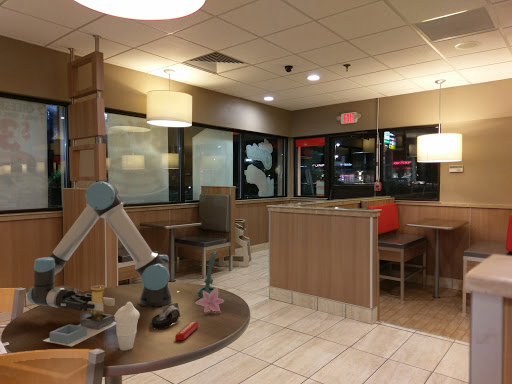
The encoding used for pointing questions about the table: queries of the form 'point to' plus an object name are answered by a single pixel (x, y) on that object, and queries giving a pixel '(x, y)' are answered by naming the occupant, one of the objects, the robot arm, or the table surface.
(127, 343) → the soft serve ice cream cone
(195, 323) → the candy bar
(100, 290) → the brass peg
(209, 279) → the dark curved piece
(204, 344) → the table surface
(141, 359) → the table surface
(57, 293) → the robot arm
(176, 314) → the caster wheel
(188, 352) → the table surface
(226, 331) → the table surface
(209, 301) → the lily
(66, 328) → the collar
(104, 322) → the frame
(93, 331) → the mounting plate
